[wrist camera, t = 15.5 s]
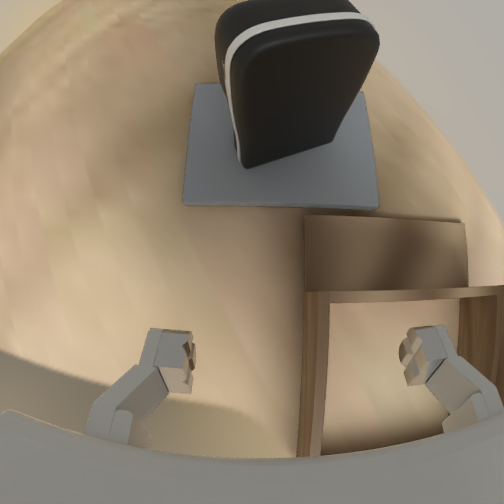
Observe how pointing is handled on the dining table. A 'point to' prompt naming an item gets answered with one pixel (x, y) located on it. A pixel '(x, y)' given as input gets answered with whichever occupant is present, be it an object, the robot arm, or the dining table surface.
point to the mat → (277, 164)
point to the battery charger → (291, 72)
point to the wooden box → (389, 294)
